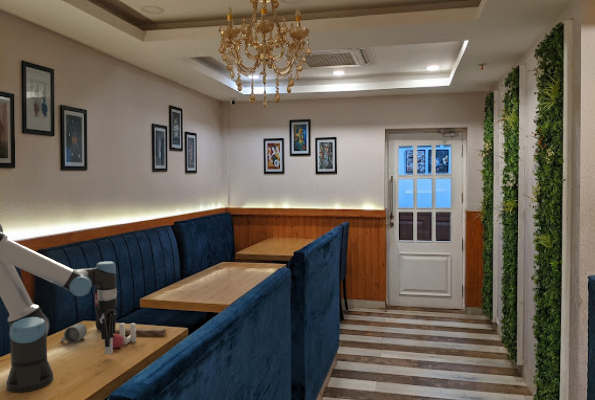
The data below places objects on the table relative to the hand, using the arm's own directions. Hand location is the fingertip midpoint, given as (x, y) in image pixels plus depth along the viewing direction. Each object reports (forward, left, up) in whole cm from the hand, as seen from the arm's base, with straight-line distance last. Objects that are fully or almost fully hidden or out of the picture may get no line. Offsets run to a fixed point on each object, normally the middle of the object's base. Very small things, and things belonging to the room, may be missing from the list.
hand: (109, 353), depth 198 cm
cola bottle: (+2, +42, -2) cm, 43 cm away
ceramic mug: (-13, +31, -2) cm, 34 cm away
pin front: (+8, +13, -1) cm, 15 cm away
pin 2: (+12, +15, -2) cm, 19 cm away
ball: (+4, +11, +1) cm, 12 cm away
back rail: (+16, +24, -2) cm, 29 cm away
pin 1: (+7, +18, -2) cm, 19 cm away
